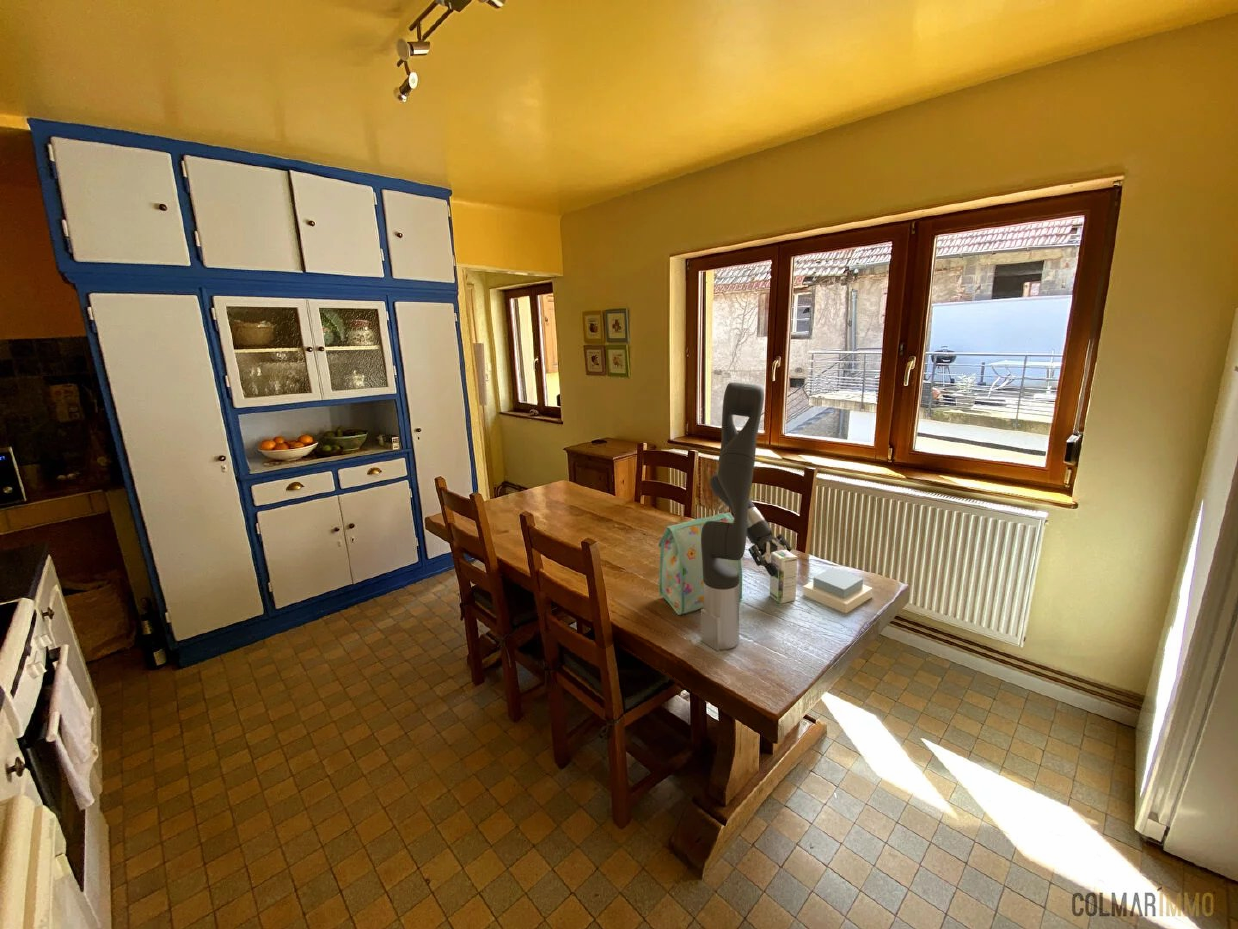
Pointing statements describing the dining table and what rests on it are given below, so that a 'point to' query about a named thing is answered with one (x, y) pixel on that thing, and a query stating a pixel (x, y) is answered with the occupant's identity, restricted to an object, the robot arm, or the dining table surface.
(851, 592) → the tower base
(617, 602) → the dining table surface
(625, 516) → the dining table surface
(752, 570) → the dining table surface
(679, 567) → the lunch bag
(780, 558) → the syrup box
